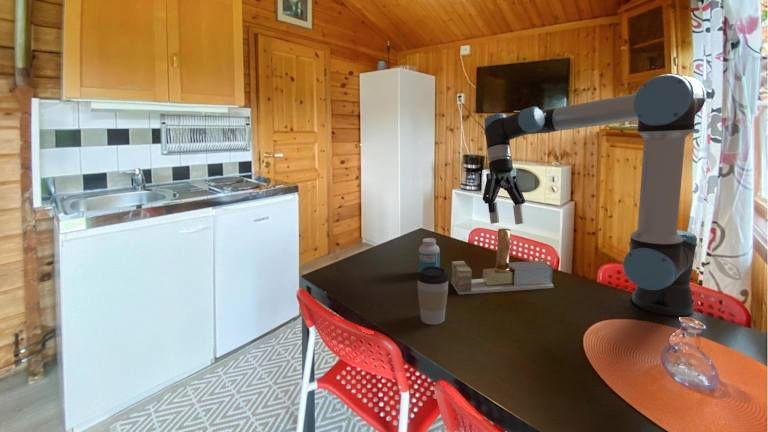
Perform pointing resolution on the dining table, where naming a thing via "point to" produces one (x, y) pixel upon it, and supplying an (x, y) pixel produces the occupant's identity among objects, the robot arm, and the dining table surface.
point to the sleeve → (531, 273)
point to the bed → (499, 287)
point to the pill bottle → (429, 254)
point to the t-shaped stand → (500, 262)
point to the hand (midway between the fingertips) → (507, 223)
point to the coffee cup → (432, 294)
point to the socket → (461, 276)
